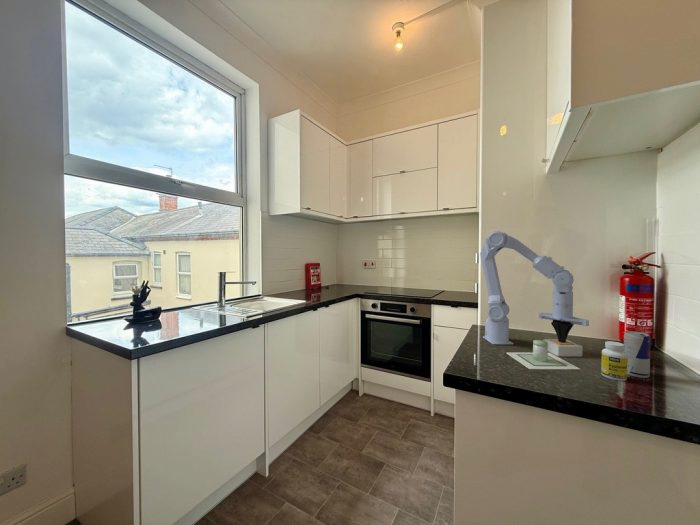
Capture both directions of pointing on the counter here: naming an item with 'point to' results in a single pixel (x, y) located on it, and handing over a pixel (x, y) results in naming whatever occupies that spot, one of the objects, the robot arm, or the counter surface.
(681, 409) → the counter surface
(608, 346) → the supplement bottle
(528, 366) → the picture board
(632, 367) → the energy drink
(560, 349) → the button housing
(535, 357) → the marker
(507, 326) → the robot arm
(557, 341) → the button
